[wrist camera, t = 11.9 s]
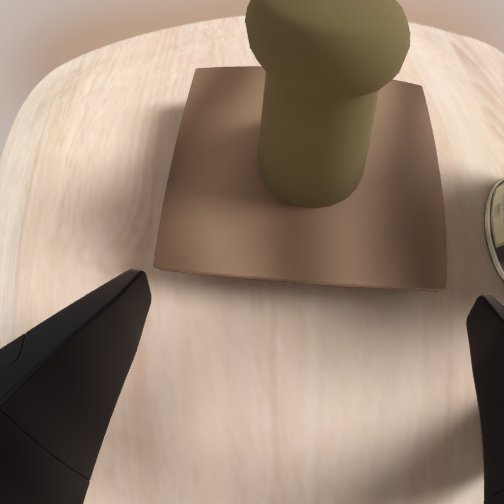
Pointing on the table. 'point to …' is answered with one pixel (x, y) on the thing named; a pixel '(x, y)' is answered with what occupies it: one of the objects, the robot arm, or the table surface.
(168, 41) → the table surface
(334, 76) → the olive pepper shaker
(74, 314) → the robot arm
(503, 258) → the coffee can
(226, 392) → the table surface
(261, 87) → the small wooden stand
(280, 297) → the table surface
